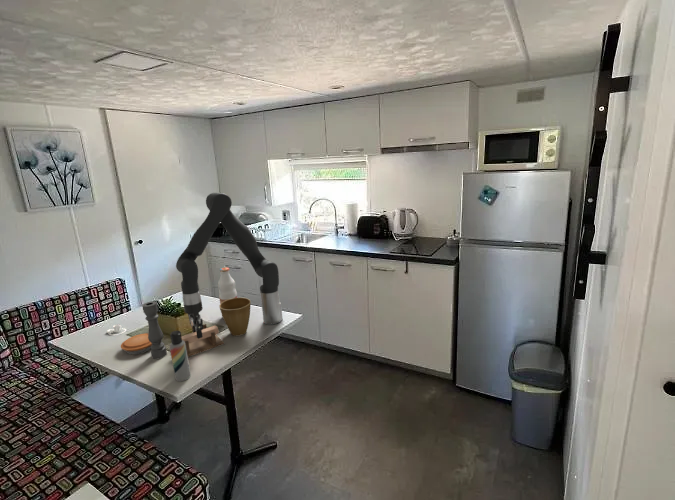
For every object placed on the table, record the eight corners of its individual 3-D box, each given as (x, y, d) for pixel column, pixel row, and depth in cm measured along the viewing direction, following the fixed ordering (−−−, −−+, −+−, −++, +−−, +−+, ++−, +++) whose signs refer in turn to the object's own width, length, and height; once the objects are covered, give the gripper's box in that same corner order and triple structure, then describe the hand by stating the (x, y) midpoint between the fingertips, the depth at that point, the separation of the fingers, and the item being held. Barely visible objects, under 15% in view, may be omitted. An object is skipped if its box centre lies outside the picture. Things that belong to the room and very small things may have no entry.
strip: (216, 331, 172) (215, 325, 172) (218, 333, 170) (218, 327, 169) (177, 344, 162) (175, 338, 161) (179, 346, 159) (178, 340, 158)
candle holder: (151, 360, 159) (141, 307, 153) (151, 354, 164) (141, 303, 158) (167, 356, 161) (157, 304, 155) (166, 350, 167) (157, 300, 161)
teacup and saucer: (104, 334, 187) (102, 327, 186) (118, 328, 194) (117, 321, 193) (116, 337, 184) (114, 329, 183) (130, 330, 191) (128, 323, 190)
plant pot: (221, 330, 184) (216, 301, 180) (249, 323, 190) (246, 295, 186) (226, 343, 171) (222, 311, 167) (257, 334, 177) (253, 304, 173)
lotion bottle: (178, 374, 147) (170, 329, 142) (192, 372, 148) (185, 328, 143) (173, 382, 142) (164, 336, 137) (188, 380, 142) (180, 334, 137)
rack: (213, 334, 181) (211, 321, 179) (224, 344, 170) (222, 330, 168) (171, 348, 169) (169, 334, 167) (180, 359, 158) (177, 345, 156)
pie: (163, 347, 170) (161, 337, 169) (127, 360, 160) (125, 350, 159) (152, 337, 181) (150, 328, 180) (118, 349, 171) (116, 339, 169)
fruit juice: (219, 317, 200) (212, 269, 194) (234, 311, 207) (228, 265, 200) (227, 321, 194) (220, 272, 187) (242, 316, 200) (236, 268, 193)
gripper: (206, 303, 158) (211, 338, 162) (195, 294, 169) (200, 328, 173) (188, 308, 154) (194, 344, 158) (179, 299, 164) (184, 333, 169)
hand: (197, 335), depth 165 cm, fingers open, 5 cm apart
